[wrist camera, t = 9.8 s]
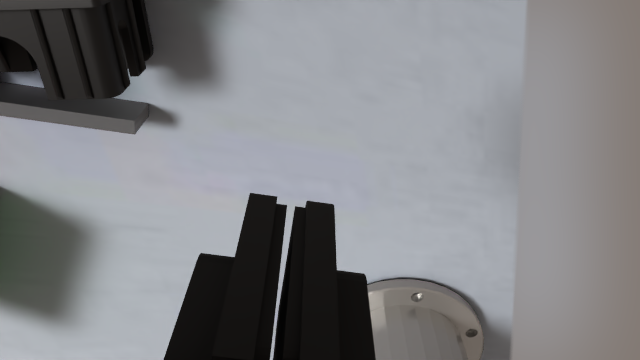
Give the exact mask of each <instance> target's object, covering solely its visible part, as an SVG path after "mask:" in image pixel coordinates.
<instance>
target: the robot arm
mask: <svg viewBox="0 0 640 360" xmlns="http://www.w3.org/2000/svg"><path fill="white" fill-rule="evenodd" d="M276 202H277V197H276V196H269V195H261V194H254V193H250V196H249V200H248V204H247V208H246V212H245V216H244V221H243V225H242V229H241V233H240V238H239V242H238V246H237V250H236V254H235V257H227V256H219V255H211V254H204V253H201V254H200V255H199V257H198V260H197V262H196V265H195V268H194V271H193V274H192V277H191V280H190V283H189V286H188V289H187V292H186V295H185V298H184V301H183V304H182V307H181V310H180V313H179V316H178V319H177V322H176V325H175V328H174V330H173V333H172V336H171V339H170V342H169V345H168V348H167V351H166V354H165V357H164V360H270V352H271V344H272V335H273V326H274V317H275V308H276V299H277V290H278V281H279V272H280V263H281V254H282V245H283V236H284V227H285V218H286V209H287V205H281V204H276ZM483 345H484V336H483V332H482V328H481V325H480V322H479V320H478V317H477V315H476V313H475V311H474V310H473V309H472V307H471V306H470V305H469V303H468V302H467V301H465V300H464V299H463V298H462V297H461V296H460V295H458V294H457V293H455V292H453V291H451V290H449V289H448V288H446V287H443V286H440V285H437V284H434V283H431V282H426V281H420V280H414V279H395V280H388V281H380V282H376V283H373V284H369V285H367V280H366V276H365V274H361V273H354V272H346V271H338V270H337V266H336V240H335V214H334V205H333V204H327V203H320V202H312V201H307V202H306V207H305V208H303V207H295V211H294V217H293V224H292V230H291V236H290V242H289V248H288V255H287V261H286V267H285V273H284V279H283V286H282V292H281V298H280V304H279V311H278V319H277V328H276V338H275V347H274V357H273V360H480V358H481V355H482V352H483Z"/></svg>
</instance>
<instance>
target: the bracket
mask: <svg viewBox="0 0 640 360" xmlns="http://www.w3.org/2000/svg"><path fill="white" fill-rule="evenodd" d="M0 116H7V117H14V118H21V119H28V120H35V121H43V122H50V123H57V124H64V125H71V126H78V127H85V128H93V129H100V130H107V131H114V132H121V133H128V134H136V132H137V131H138V130H139V128H140V127H141V126H142V124H143V123H144V122H145V120H146V119H147V118H148V116H149V107H148V103H142V102H135V101H128V100H121V99H114V98H107V99H79V100H48V97H47V94H46V91H45V88H38V87H31V86H24V85H18V84H11V83H4V82H0Z"/></svg>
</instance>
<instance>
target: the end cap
mask: <svg viewBox="0 0 640 360" xmlns="http://www.w3.org/2000/svg"><path fill="white" fill-rule="evenodd" d="M152 54H153V44H152V38H151V33H150V28H149V23H148V18H147V13H146V8H145V3H144V0H0V72H25V71H35V70H36V69H37V66H38V69H39V72H40V75H41V78H42V81H43V84H44V87H45V91H46V94H47V97H48V100H79V99H107V98H112V97H116V96H118V95H120V94H122V93H123V92H124V91H125V90H126V88H127V87H128V86H129V85H130V80H129V76H128V71H127V69H129V72H130V76H139V75H140V74H141V73H142V72H143V71H144V70H145V69H146V66H145V61H147V60H148V59H149V58H150V57H151V56H152Z"/></svg>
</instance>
